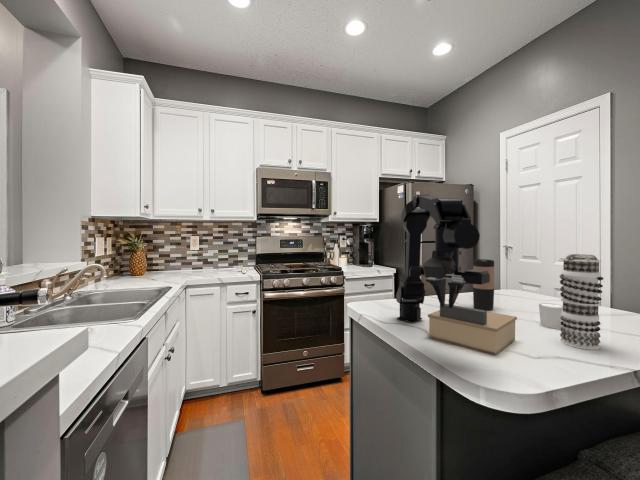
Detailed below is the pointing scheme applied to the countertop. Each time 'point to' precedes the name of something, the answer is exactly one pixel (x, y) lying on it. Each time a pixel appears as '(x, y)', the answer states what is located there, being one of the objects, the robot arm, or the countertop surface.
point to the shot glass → (550, 315)
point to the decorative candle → (580, 301)
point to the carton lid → (473, 317)
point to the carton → (472, 336)
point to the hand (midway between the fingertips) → (446, 307)
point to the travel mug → (484, 286)
